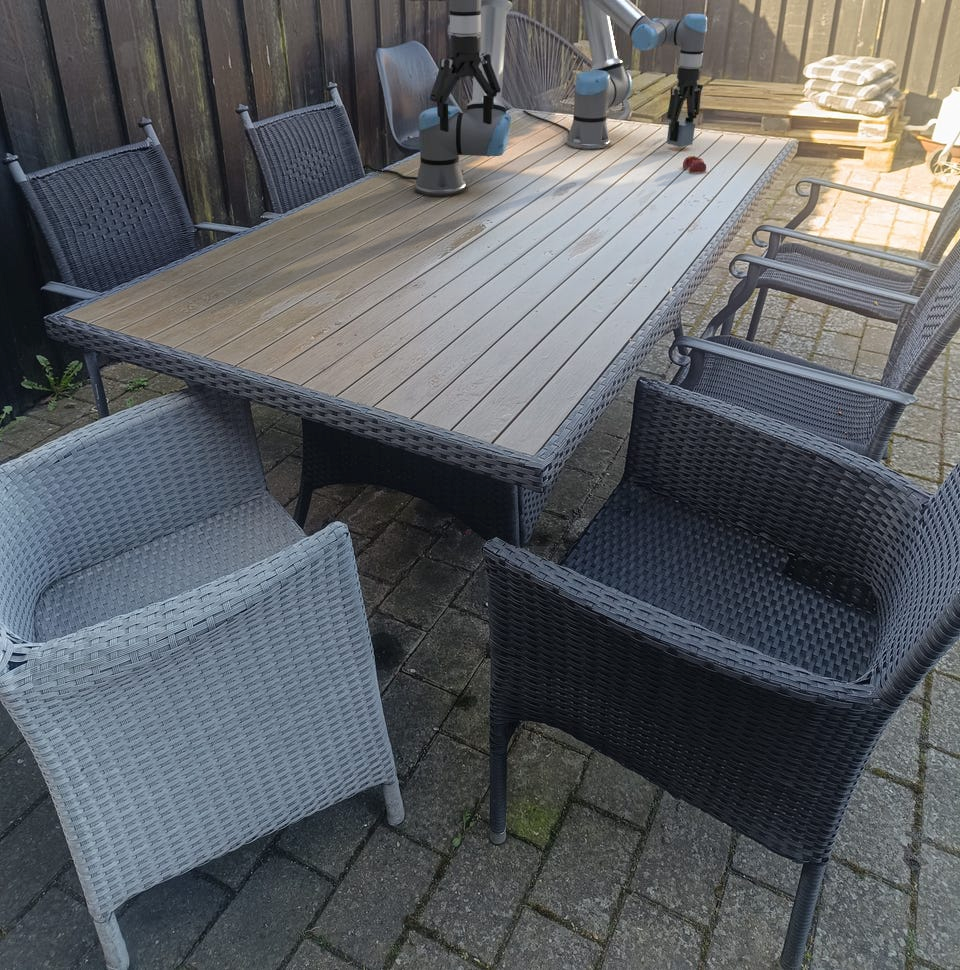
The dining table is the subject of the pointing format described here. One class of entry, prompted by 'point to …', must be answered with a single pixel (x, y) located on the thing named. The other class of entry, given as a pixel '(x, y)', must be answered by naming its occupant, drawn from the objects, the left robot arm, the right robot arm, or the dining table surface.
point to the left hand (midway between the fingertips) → (466, 127)
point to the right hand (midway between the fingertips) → (679, 139)
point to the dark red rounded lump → (694, 164)
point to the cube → (683, 134)
